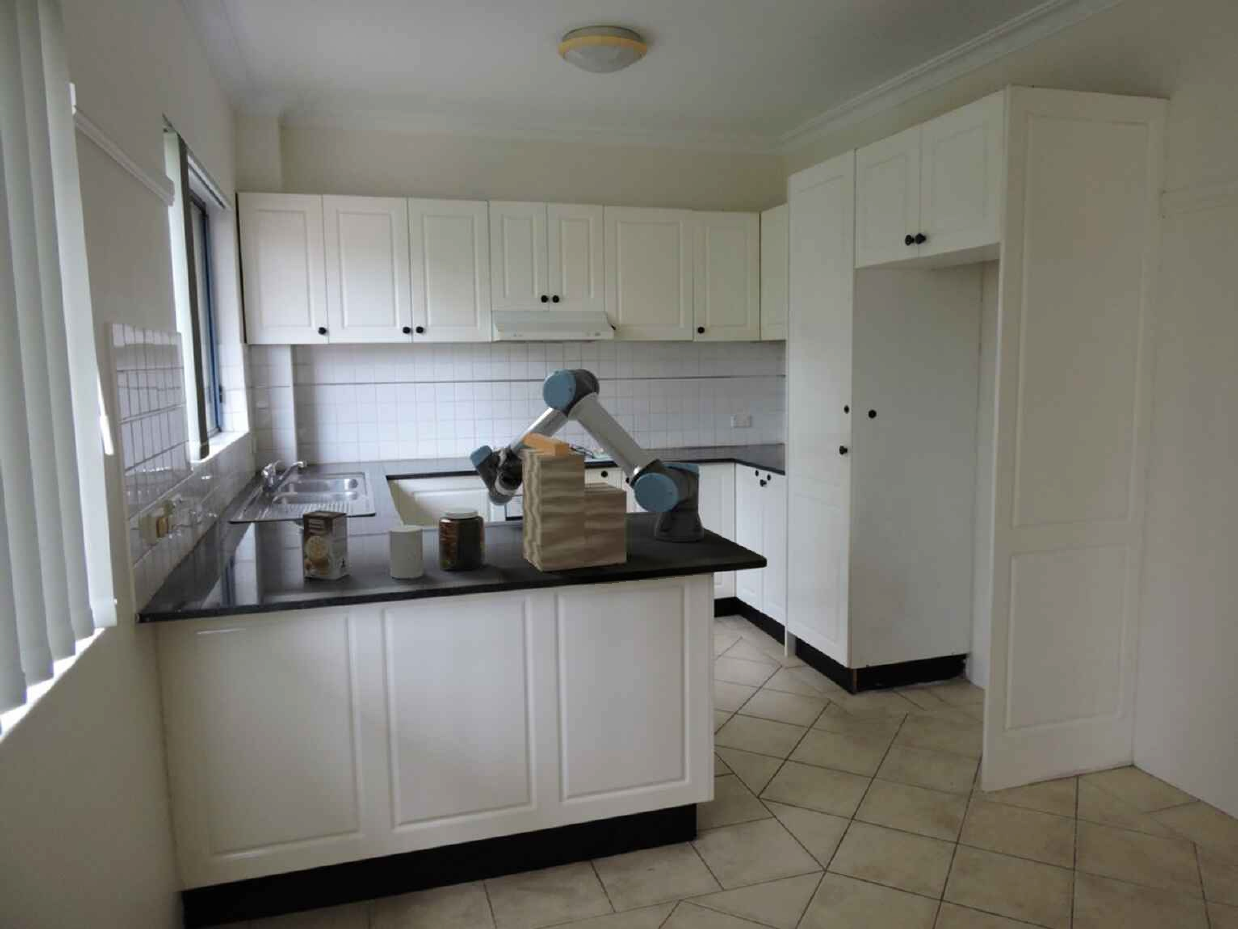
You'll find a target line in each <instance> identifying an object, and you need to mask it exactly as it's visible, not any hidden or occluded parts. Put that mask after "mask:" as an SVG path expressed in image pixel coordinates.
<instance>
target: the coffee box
mask: <svg viewBox="0 0 1238 929" xmlns="http://www.w3.org/2000/svg"><path fill="white" fill-rule="evenodd" d="M347 516H348V514H347V512H341V511H340V512H339V511H331V510H322V509H316V510H314V511H310V512H307V513H303V514H302V535H303V557H304V559H303V560H304V576H305V577H307V578H308V577H309V578H315V579H316V578H317V579H324V580H332V581H334V580H337V579H340V578H342V577H345V576H347V575H349V554H348V553H349V550H348V521H347V520H348V519H347V518H348V517H347Z"/></svg>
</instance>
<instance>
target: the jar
mask: <svg viewBox="0 0 1238 929" xmlns="http://www.w3.org/2000/svg"><path fill="white" fill-rule="evenodd" d="M437 530H438V531H437V532H438V565H439V569H441V570H444V571H448V572H467V571H468V572H469V570H470V571H474V570H473V569H476V570H478V569H477V568H479V569H481V568H480V567H482V568H483V567H485V566H486V531H485V519H484V517H483V516H481V515H479V514H478V509H477V508H474V507H453V508H448V509H445V510H444V516H443V517H440V518H439V519H438V528H437ZM484 565H485V566H484Z"/></svg>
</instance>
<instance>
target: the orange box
mask: <svg viewBox="0 0 1238 929" xmlns="http://www.w3.org/2000/svg"><path fill="white" fill-rule="evenodd" d="M525 445H527V446H530V447H533V448H535V449H538V450H541V451H544V452H546V453H549V454H552V455H554V456H558V455H570V450H571V449H570V445H571V444H570V443H569V442H567V441H566V442H565V441H562V440H561V439H557V438H555V437H547V436H544V435H541V434H525Z"/></svg>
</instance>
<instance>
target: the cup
mask: <svg viewBox="0 0 1238 929" xmlns="http://www.w3.org/2000/svg"><path fill="white" fill-rule="evenodd" d="M388 539H389V540H388V542H389V564H390V565H389V567H390V570H389V573H390V575H391V576H393V577H395V578H394V579H396V578H411V579H415V578H414V577H417V578H419V577H418V576H420V575H422V576H423V575H424V549H423V548H424V547H423V546H424V545H423V527H422V526H420V525H416V524H404V525H403V524H401V525H396V526H392V527H389V528H388ZM391 576H390V577H391ZM420 577H421V576H420Z"/></svg>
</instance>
